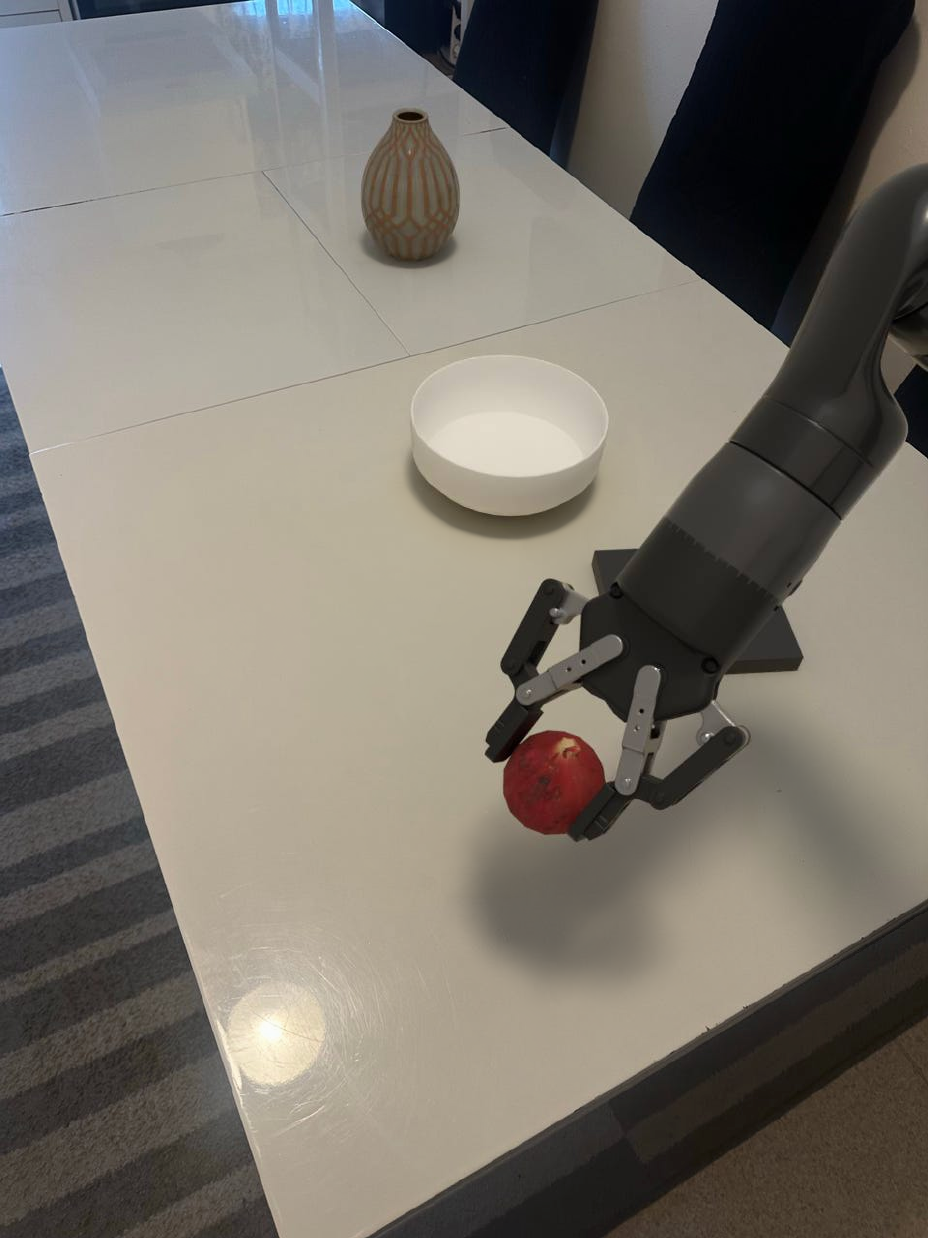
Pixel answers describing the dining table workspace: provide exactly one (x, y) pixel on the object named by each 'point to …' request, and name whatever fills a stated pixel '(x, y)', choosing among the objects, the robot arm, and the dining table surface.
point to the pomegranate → (551, 781)
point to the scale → (762, 654)
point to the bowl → (507, 433)
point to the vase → (410, 189)
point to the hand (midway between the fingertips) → (535, 796)
